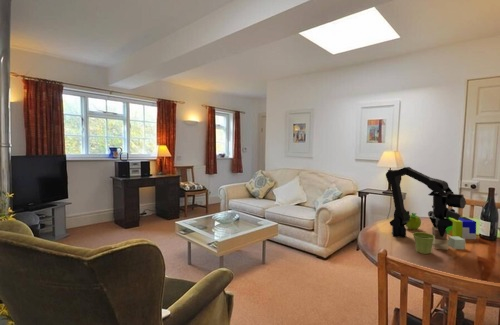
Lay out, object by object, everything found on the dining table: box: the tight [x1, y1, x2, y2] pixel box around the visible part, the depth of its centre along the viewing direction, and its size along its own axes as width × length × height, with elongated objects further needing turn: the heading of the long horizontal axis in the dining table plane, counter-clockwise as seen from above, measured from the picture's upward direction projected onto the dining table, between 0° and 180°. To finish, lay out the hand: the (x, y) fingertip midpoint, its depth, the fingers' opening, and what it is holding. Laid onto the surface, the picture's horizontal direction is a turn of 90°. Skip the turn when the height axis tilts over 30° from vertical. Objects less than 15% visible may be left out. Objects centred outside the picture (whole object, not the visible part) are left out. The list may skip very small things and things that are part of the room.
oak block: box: [432, 238, 449, 251], centre depth 136 cm, size 6×6×5 cm
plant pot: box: [412, 231, 435, 255], centre depth 131 cm, size 9×9×9 cm
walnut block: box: [431, 226, 448, 240], centre depth 136 cm, size 5×5×5 cm
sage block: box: [447, 235, 466, 250], centre depth 135 cm, size 5×5×5 cm
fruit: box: [405, 212, 422, 231], centre depth 166 cm, size 9×9×10 cm
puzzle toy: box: [446, 216, 477, 240], centre depth 151 cm, size 10×10×10 cm
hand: (439, 234), depth 136 cm, fingers open, 7 cm apart
